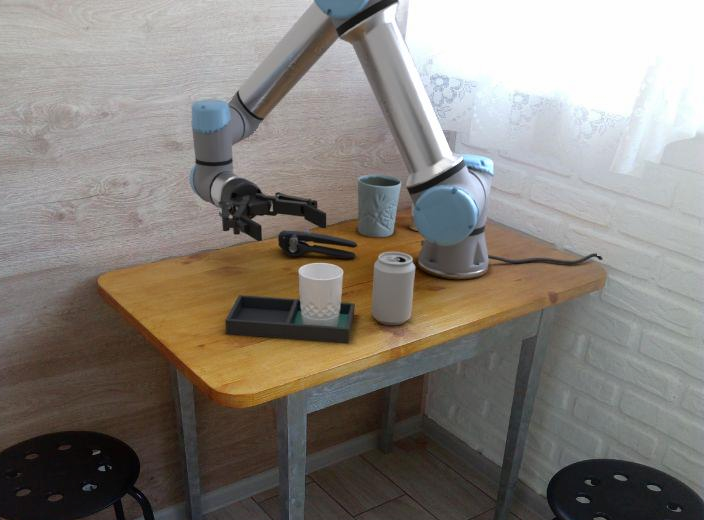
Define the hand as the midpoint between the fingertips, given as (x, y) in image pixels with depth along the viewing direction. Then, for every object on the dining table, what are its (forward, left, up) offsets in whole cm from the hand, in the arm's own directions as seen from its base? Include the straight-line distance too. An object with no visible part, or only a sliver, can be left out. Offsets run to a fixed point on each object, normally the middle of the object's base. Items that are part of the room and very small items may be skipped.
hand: (293, 227), depth 138 cm
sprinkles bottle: (-23, -52, -16) cm, 59 cm away
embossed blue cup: (-13, -48, -16) cm, 52 cm away
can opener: (-1, -29, -16) cm, 33 cm away
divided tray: (-1, +7, -16) cm, 17 cm away
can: (-19, +1, -16) cm, 25 cm away
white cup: (-6, +7, -15) cm, 18 cm away
